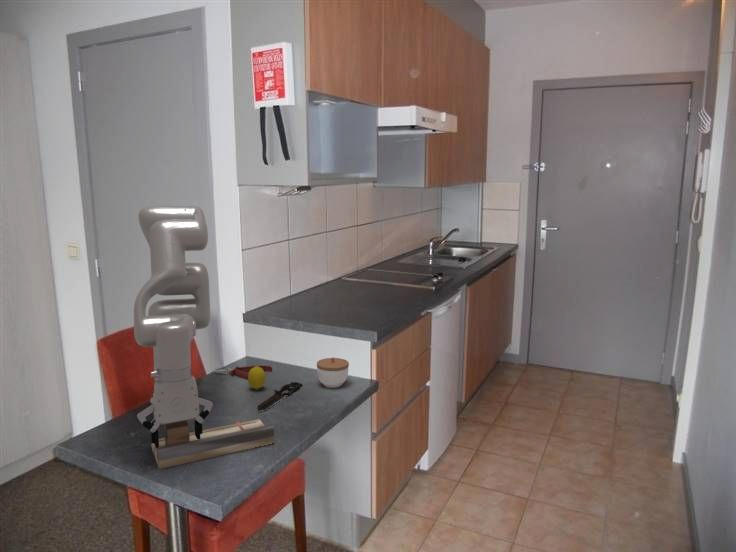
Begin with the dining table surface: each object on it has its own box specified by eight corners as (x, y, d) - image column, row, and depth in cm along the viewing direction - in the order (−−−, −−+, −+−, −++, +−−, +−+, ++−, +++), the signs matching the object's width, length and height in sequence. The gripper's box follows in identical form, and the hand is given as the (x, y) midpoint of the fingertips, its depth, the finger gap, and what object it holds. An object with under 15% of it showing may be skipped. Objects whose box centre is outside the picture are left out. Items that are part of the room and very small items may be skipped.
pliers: (220, 368, 199) (220, 361, 199) (273, 372, 196) (273, 365, 196) (206, 379, 188) (206, 371, 188) (263, 383, 185) (262, 375, 185)
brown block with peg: (162, 438, 137) (161, 416, 136) (182, 434, 139) (181, 412, 139) (168, 453, 129) (167, 429, 129) (189, 449, 132) (189, 425, 131)
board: (150, 446, 138) (150, 429, 137) (258, 424, 151) (258, 409, 151) (159, 469, 127) (158, 451, 126) (274, 443, 140) (273, 427, 140)
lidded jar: (353, 382, 186) (354, 355, 185) (339, 392, 176) (339, 364, 175) (326, 377, 190) (326, 351, 189) (310, 387, 181) (310, 360, 179)
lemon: (265, 392, 175) (264, 368, 174) (247, 393, 174) (247, 369, 173) (265, 386, 181) (265, 363, 180) (248, 386, 180) (248, 363, 179)
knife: (261, 415, 159) (261, 411, 158) (243, 411, 161) (243, 406, 161) (307, 387, 181) (307, 383, 181) (291, 384, 184) (291, 380, 184)
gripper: (137, 383, 122) (141, 455, 125) (215, 372, 130) (217, 440, 133) (133, 374, 128) (137, 442, 131) (207, 363, 137) (209, 428, 139)
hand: (177, 441), depth 132 cm, fingers open, 9 cm apart
